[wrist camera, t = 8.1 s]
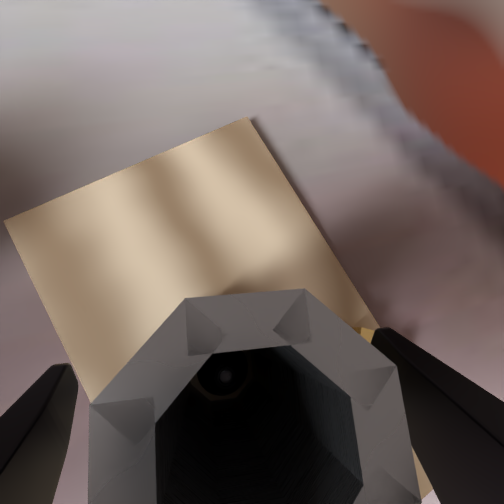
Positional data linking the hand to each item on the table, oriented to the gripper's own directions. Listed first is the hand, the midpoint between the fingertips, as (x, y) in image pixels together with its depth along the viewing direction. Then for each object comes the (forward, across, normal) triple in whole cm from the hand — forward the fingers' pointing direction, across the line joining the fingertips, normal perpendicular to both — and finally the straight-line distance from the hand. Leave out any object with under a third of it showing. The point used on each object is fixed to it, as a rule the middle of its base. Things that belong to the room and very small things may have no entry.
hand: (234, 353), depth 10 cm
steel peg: (+5, 0, +7) cm, 9 cm away
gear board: (+7, -1, +7) cm, 10 cm away
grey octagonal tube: (+5, 0, +7) cm, 9 cm away
